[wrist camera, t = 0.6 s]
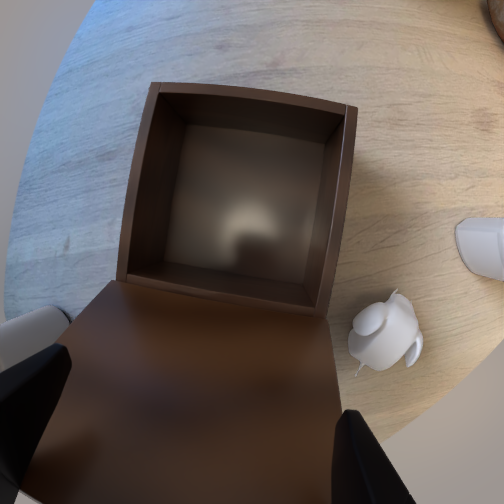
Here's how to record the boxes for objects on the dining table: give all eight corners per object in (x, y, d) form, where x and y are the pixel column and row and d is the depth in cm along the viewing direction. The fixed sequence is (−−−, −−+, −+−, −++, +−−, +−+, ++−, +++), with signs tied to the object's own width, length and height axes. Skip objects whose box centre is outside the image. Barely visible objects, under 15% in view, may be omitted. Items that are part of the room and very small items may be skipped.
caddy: (182, 118, 26) (150, 81, 18) (333, 139, 26) (358, 107, 17) (156, 266, 27) (115, 283, 19) (308, 293, 27) (325, 322, 19)
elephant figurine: (420, 307, 27) (451, 325, 21) (370, 374, 27) (390, 405, 21) (370, 268, 26) (395, 280, 21) (317, 341, 27) (329, 369, 21)
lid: (-32, 451, 6) (-22, 462, 6) (355, 567, 5) (345, 570, 5) (111, 279, 19) (112, 289, 19) (328, 319, 18) (324, 329, 18)
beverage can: (42, 298, 28) (-36, 326, 17) (74, 312, 28) (-3, 349, 16) (41, 337, 29) (-30, 374, 17) (73, 352, 29) (3, 399, 17)
